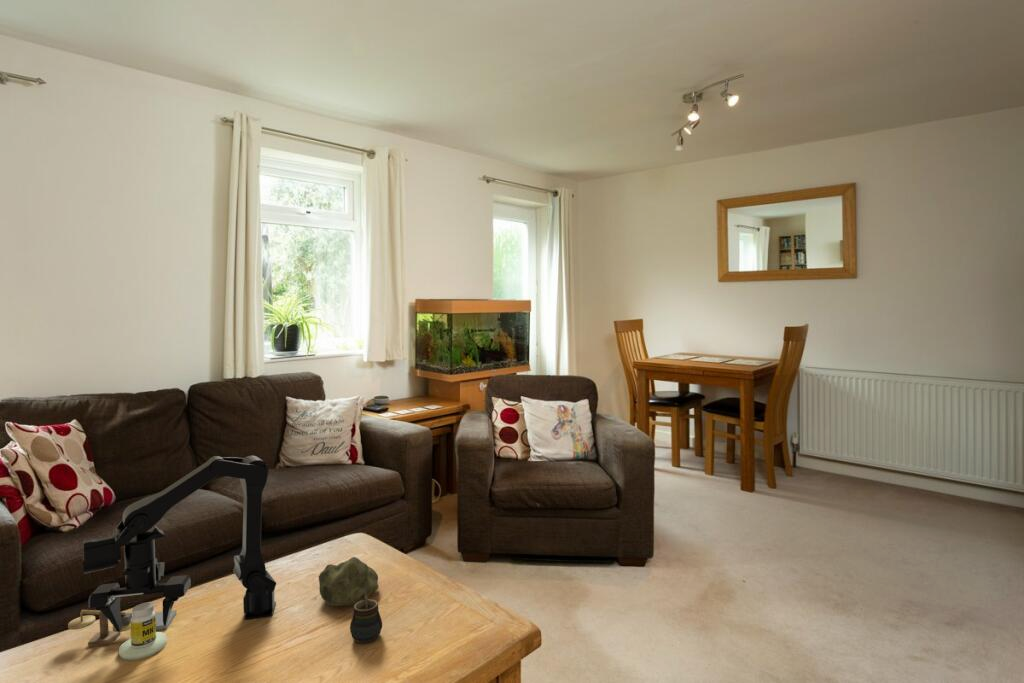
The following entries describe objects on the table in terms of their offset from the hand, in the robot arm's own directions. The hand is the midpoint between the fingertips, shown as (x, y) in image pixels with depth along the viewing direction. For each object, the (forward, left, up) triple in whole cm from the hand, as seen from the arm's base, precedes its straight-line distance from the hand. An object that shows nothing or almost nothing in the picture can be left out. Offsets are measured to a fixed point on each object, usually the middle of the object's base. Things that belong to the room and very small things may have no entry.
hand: (142, 627), depth 127 cm
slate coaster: (+1, -11, -5) cm, 12 cm away
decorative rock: (-45, -12, -5) cm, 47 cm away
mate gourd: (-49, +9, -5) cm, 50 cm away
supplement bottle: (0, 0, -4) cm, 4 cm away
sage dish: (0, 0, -5) cm, 5 cm away
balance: (+10, -6, -5) cm, 13 cm away
